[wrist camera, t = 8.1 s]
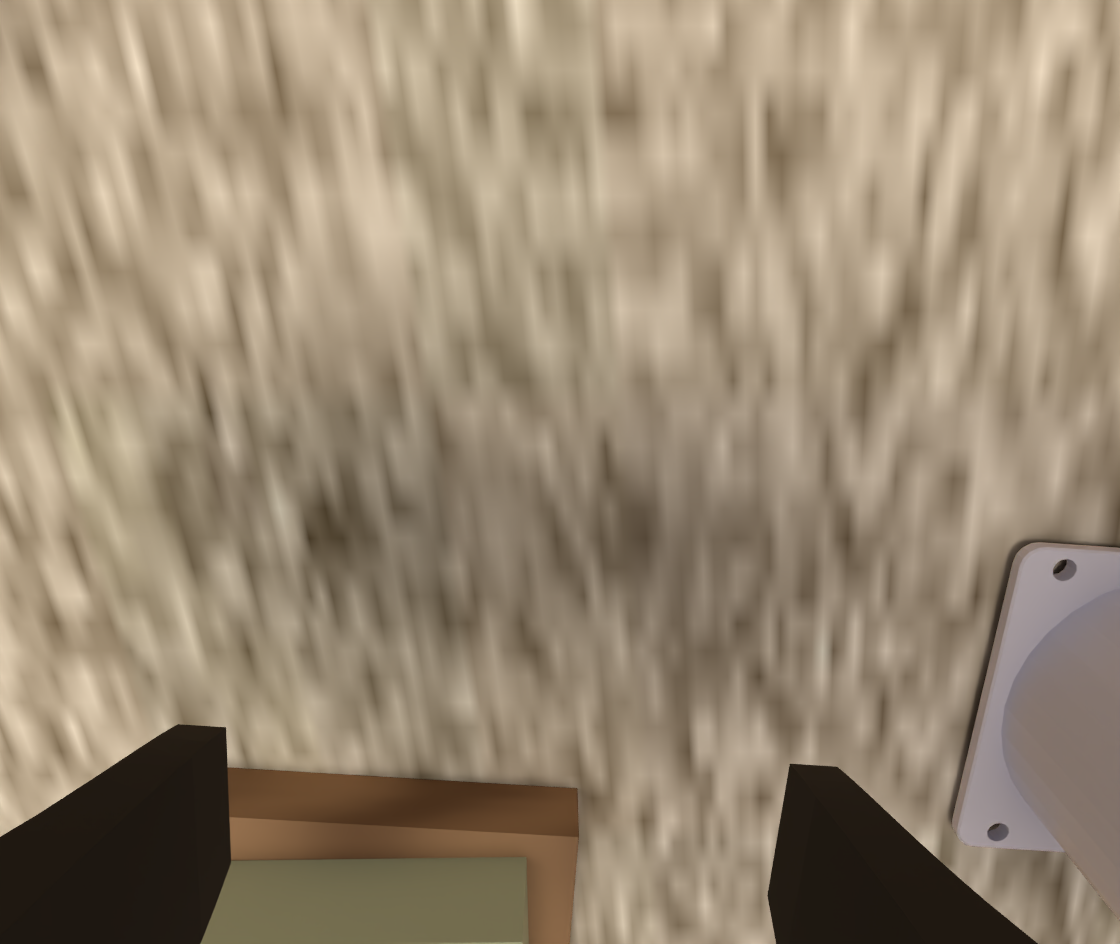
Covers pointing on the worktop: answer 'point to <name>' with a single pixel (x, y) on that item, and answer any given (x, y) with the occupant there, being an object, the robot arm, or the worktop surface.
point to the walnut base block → (413, 828)
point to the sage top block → (373, 902)
